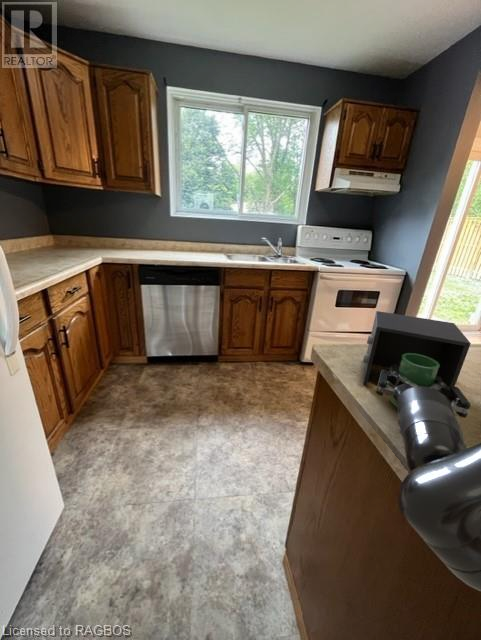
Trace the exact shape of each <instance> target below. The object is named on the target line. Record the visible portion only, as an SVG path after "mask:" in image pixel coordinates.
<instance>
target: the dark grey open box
mask: <svg viewBox="0 0 481 640" xmlns="http://www.w3.org/2000/svg"><path fill="white" fill-rule="evenodd" d="M366 344H368V346H367V351H366V353H364V354H363V357H362V363H364V368H363V381H362V384H363V386H368V383H369V378H370V374H371V370H372V366H378V367H381V368H386V369H390V366H393V365H394V364H395V365H398V368H399V364H400V361H401V357H402V355H403V354H405V353H415V354H420V355H424V356H427V357H430V358H432V359H434V360H435V361H437V362H438V363H439V365H440V368H439V371H438V374H437V375H438V376H439V377H441V378H442V381H443V382H444V383H446V386H448V387H451V386H455V387H456V384H457V381H458V379H459V377H460V373H461V371H462V368H463V366H464V363H465V360H466V357H467V354H468V352H469V349H470V347H471V344H472V342H470V340H469V339H468V338H467V337H466V335H465V334H464V333H463V332H462V331H461V329H460V328H459V327H458V326H457V325H456V323H454V322H449V321H443V320H436V319H430V318H423V317H418V316H410V315H405V314H399V313H392V312H385V311H381V310H380V311H379V310H376V312H375V315H374V320H373V325H372V329H371V333H370V334H368V336H367V340H366ZM445 397H446V398H447V396H445Z"/></svg>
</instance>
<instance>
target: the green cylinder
mask: <svg viewBox="0 0 481 640" xmlns="http://www.w3.org/2000/svg"><path fill="white" fill-rule="evenodd" d="M439 368H440V365H439V363H438V362H437V361H435V360H434V359H432V358H430V357H427V356H424V355H420V354H415V353H405V354H403V355H402V357H401V361H400V364H399V368H398V369H399V374H400V375H401V376H406V377H407V378H408V379H409V380H410V381H411V382H412V383H415V384H418V385H424V386H428V387H431V386H432V385H433V384H434V382H435V379H436V377H437V374H438V371H439ZM390 402H391V403H392V404H393V405H394V406H395V407H396V408H397V402H396V400H395V399H394V398H393V396H392V395H390Z"/></svg>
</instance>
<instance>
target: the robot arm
mask: <svg viewBox="0 0 481 640" xmlns="http://www.w3.org/2000/svg"><path fill="white" fill-rule="evenodd" d="M375 394H376V395H377V396H381V397H383V396H384V394H387V395H390V396H391V395H392V396H393V398H394V399H395V400H396V402H397V407H396V410H397V411H396V412H397V417H398V418H397V423H398V427H399V431H400V435H401V438H402V441H403V446H404V453H405V460H406V463H407V464H406V465H407V467H408V469H409V471H410V472H409V473H408V474H407V475H406V476H405V477H404V479H403V480H402V481H401V484H400V486H399V488H398V493H397V502H398V508H399V510H400V512H401V515H402V516H403V518H404V520H405V521H406V522H407V524H409V526H410V527H411V528H412V529H413V531H415V533H416V534H417V535H418V536H419V537H420V538H421V540H423V541H424V543H425V544H426V545H427V546H428V547H429V549H431V551H432V552H433V553H434V555H436V556H437V558H438V559H439V560H440V561H441V562H442V564H444V566H445V567H446V568H447V569H448V570H449V571H450V572H451V573H452V574H453V575H454V576H455V577H456V578H457V579H459V580H460V581H462V582H463V583H464V584H465V585H467V586H468V587H470V588H473V589H475V590H477V591H479V592H481V443H478V444H475V445H473V446H472V445H471V446H470V447H467V445H466V442H465V440H464V435H463V431H462V430H463V429H462V428H461V425H460V423H459V421H458V419H457V417H456V414H457V416H458V417H461V418H464V419H465V418H467V416H468V414H469V411H470V409H471V406H472V404H471V402H470V401H469V400H468V399H467V397H466V396H465V395H464V393H463V392H462V391H461V389H460V388H459V387H457V386H456V385H455V386H451V387H448V386H446V383H444V382H443V381H442V378H441V377H439V376H438V375H437V377H436V379H435V382H434V384H433V385H432V386H431V387H428V386H424V385H418V384H415V383H412V382H411V381H410V380H409V379H408V378H407V377H406V376H401V375H400V374H399V369H398V365H395V364H394V365H393V366H390V368H388V370H385V369H381V370H380V375H379V378H378V383H377V386H376V391H375ZM445 396H447V398H446V397H445ZM455 413H456V414H455Z"/></svg>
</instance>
